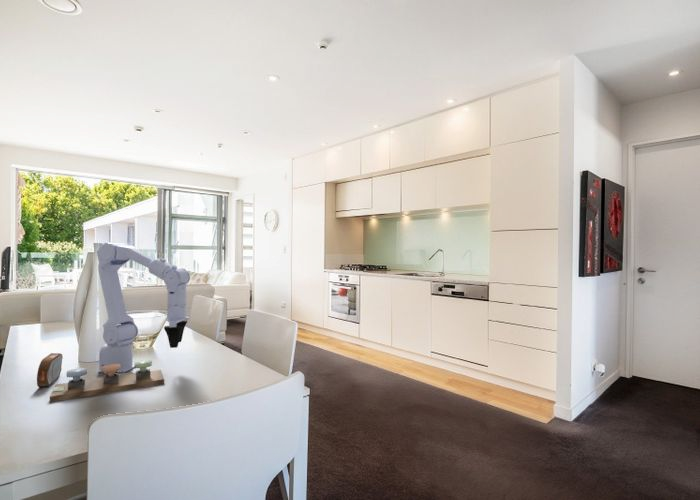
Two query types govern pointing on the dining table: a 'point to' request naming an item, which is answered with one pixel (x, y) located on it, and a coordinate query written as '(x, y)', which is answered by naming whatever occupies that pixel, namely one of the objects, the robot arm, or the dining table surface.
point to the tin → (49, 369)
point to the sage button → (143, 365)
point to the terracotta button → (111, 369)
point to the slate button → (76, 373)
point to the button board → (106, 385)
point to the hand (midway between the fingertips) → (175, 344)
